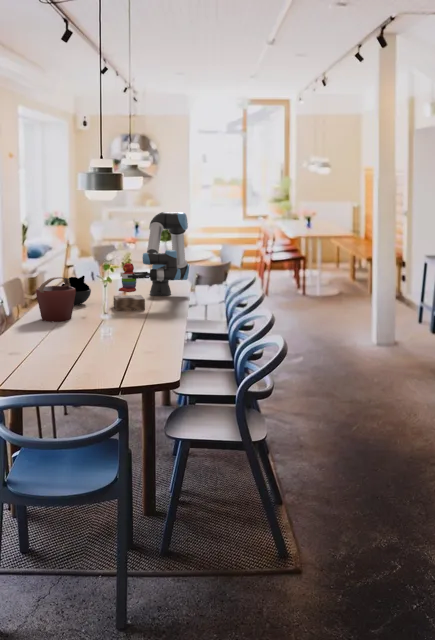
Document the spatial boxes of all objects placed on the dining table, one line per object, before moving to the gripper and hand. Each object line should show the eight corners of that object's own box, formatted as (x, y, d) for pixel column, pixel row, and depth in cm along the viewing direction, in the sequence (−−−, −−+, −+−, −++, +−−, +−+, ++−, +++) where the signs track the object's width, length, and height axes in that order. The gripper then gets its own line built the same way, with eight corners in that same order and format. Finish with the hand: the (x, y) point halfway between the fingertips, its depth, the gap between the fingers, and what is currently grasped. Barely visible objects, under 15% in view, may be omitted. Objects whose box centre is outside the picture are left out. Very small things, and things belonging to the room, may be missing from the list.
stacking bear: (117, 290, 506) (116, 263, 503) (129, 289, 514) (128, 262, 510) (128, 292, 499) (127, 264, 496) (140, 291, 506) (140, 263, 503)
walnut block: (141, 305, 519) (141, 294, 518) (145, 310, 502) (144, 299, 501) (113, 306, 515) (113, 295, 514) (116, 311, 498) (116, 300, 497)
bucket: (64, 314, 484) (63, 274, 480) (85, 319, 469) (84, 277, 464) (29, 319, 468) (27, 277, 463) (49, 324, 452) (47, 281, 448)
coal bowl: (63, 307, 508) (62, 278, 505) (58, 303, 527) (57, 275, 523) (94, 306, 516) (93, 277, 512) (87, 301, 534) (87, 273, 530)
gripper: (159, 282, 499) (123, 283, 494) (154, 278, 520) (119, 279, 515) (159, 270, 498) (123, 271, 493) (153, 267, 518) (119, 267, 513)
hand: (121, 275), depth 504 cm, fingers closed on stacking bear, 9 cm apart
